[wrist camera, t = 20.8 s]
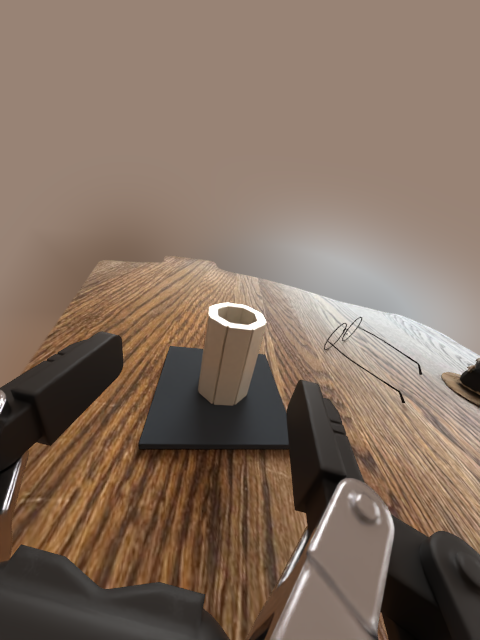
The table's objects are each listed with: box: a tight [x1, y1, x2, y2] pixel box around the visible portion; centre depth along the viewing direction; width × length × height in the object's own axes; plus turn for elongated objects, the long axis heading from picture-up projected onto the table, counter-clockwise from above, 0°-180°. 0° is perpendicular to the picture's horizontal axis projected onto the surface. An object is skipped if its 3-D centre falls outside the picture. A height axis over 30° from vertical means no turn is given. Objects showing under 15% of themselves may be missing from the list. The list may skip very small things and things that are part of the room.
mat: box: [139, 346, 289, 449], centre depth 21 cm, size 12×12×1 cm
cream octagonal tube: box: [198, 303, 267, 406], centre depth 19 cm, size 5×5×8 cm
